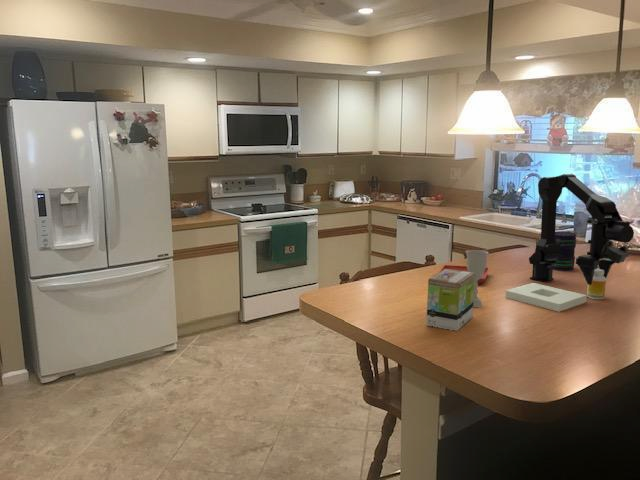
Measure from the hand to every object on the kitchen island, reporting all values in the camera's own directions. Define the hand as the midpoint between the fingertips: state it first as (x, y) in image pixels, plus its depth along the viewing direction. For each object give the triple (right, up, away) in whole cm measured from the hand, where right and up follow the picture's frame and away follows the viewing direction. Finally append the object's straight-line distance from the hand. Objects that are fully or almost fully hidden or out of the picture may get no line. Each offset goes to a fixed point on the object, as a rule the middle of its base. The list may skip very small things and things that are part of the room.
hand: (596, 282), depth 185 cm
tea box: (-55, -11, -21) cm, 60 cm away
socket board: (-18, -6, -1) cm, 19 cm away
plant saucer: (-38, -1, +29) cm, 48 cm away
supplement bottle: (0, -5, +1) cm, 6 cm away
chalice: (-43, -7, -5) cm, 44 cm away
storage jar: (+6, +2, +41) cm, 42 cm away
